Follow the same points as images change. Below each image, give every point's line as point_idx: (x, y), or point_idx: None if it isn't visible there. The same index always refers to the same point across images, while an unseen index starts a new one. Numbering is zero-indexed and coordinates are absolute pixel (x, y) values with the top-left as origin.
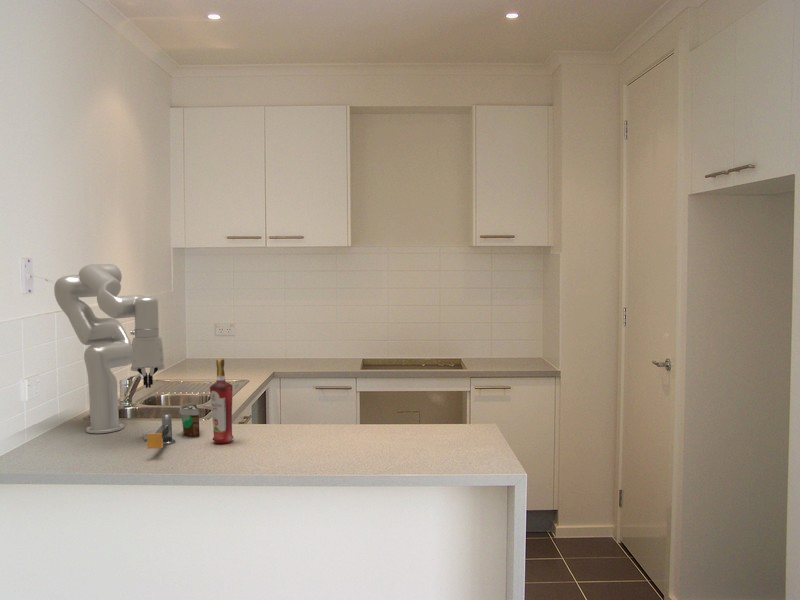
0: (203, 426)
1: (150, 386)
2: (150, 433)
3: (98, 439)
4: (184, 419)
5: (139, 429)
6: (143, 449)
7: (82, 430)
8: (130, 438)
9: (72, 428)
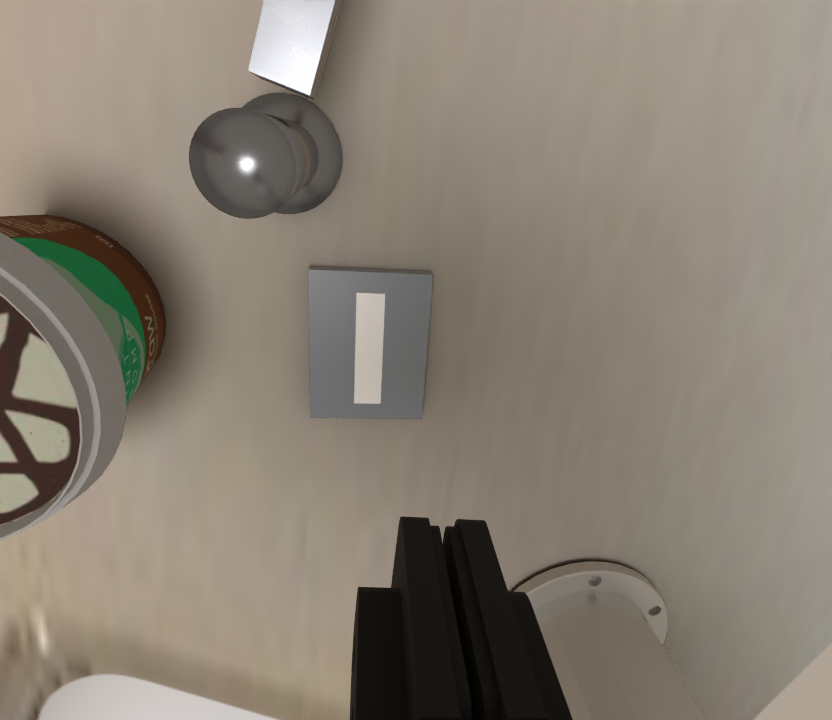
0: None
1: (406, 523)
2: (378, 401)
3: (648, 460)
4: (97, 304)
5: None
6: (468, 53)
7: None
8: (493, 401)
9: None
